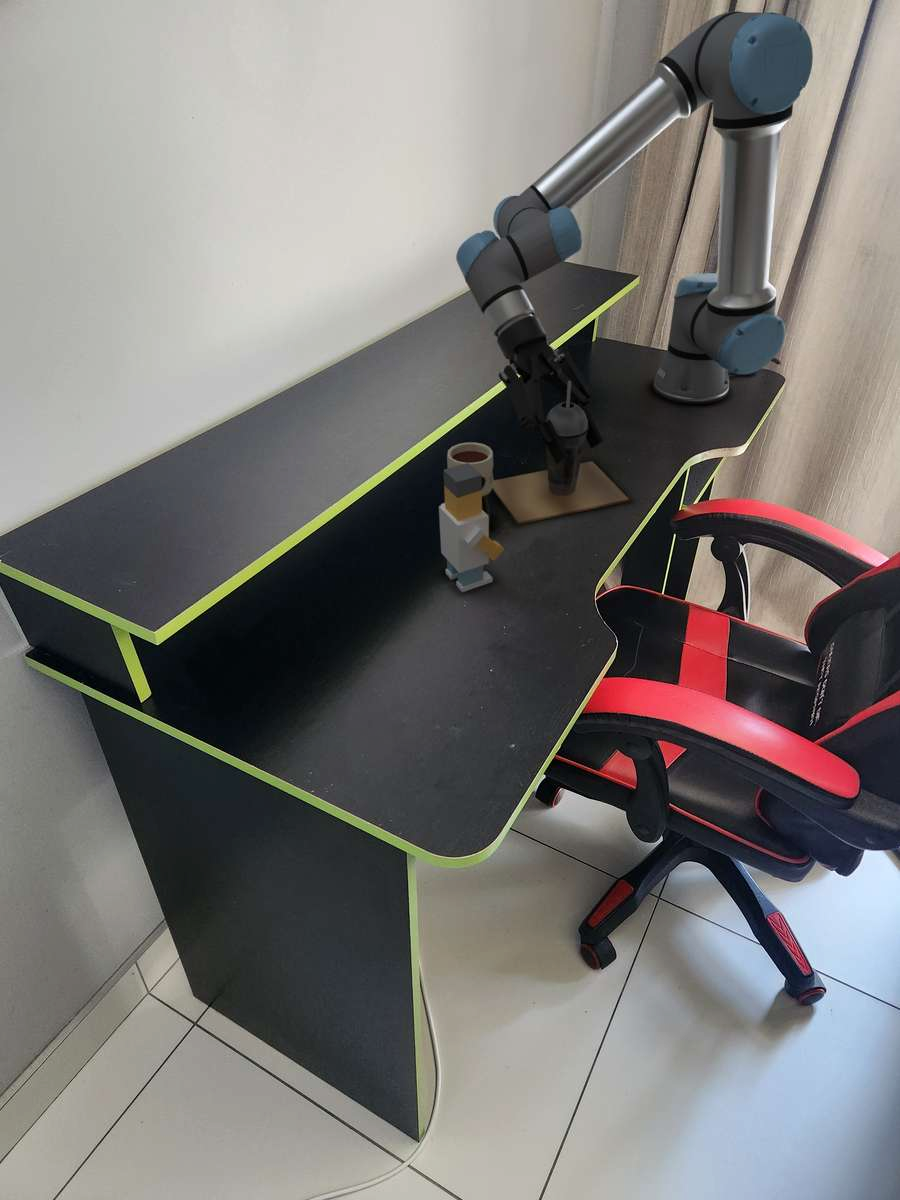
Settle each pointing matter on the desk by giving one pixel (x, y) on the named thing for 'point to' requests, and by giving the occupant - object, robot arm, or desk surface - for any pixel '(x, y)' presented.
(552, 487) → the beverage cup
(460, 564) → the character figure
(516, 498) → the cork mat
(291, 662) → the desk surface
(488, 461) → the character mug
